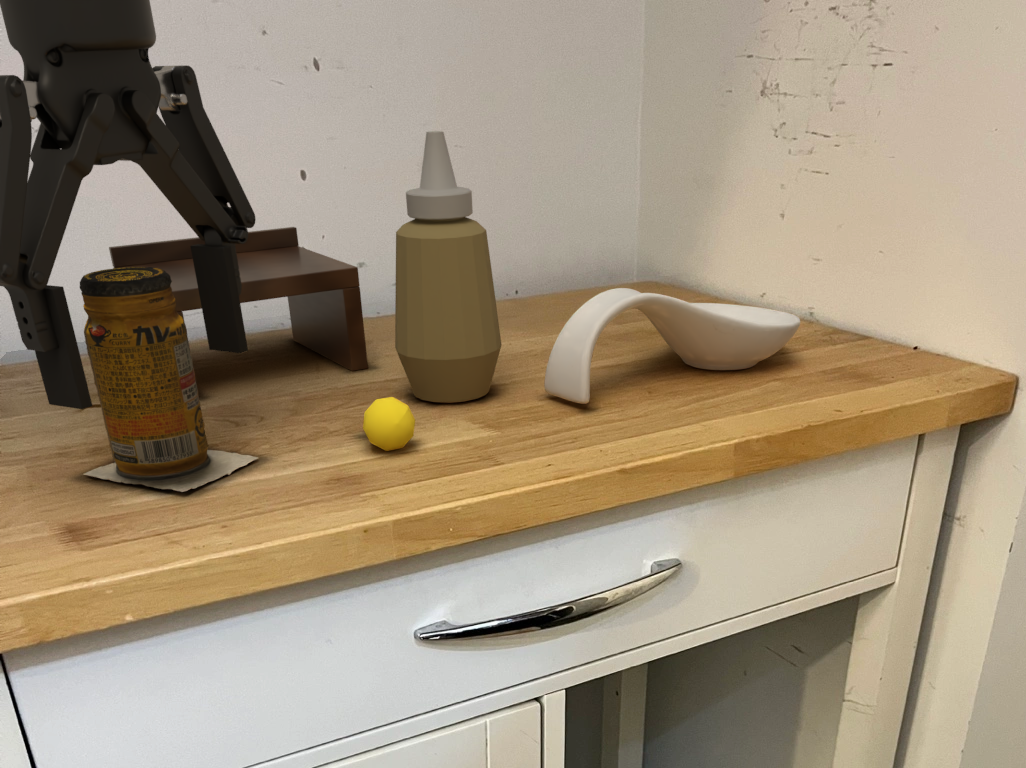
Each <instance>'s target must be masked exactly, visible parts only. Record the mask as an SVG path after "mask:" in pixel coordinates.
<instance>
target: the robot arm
mask: <svg viewBox="0 0 1026 768" xmlns="http://www.w3.org/2000/svg"><path fill="white" fill-rule="evenodd" d="M0 11H1V15H2V19H3V22H4V26H5V31H6V35H7V39H8V42H9V44H10V46H11V48H13V49H14V50H15V51H17V53H18V54H19V55H20V57H21V60H22V64H23V80H22V79H21V77H19V76H17V75H15V74H0V287H2V288H4V289H5V290H6V292H7V293H8V296H9V298H10V301H11V306H12V309H13V313H14V316H15V320H16V322H17V327H18V330H19V335H20V338H21V342H22V343H23V345H24V346H25V348H26V350H28V351H34V353H35V357H36V360H37V364H38V368H39V372H40V376H41V379H42V383H43V387H44V390H45V395H46V399H47V402H48V405H52V406H57V407H63V408H70V409H77V410H86V409H88V408H90V407H93V406H94V405H93V402H92V398H91V394H90V389H89V386H88V385H89V384H88V382H87V381H88V380H87V377H86V374H85V373H86V372H85V370H84V366H83V361H82V358H81V354H80V353H81V352H80V349H79V345H78V342H77V337H76V333H75V329H74V325H73V320H72V316H71V313H70V309H69V304H68V301H67V297H66V292H65V289H64V286H60V285H50V284H48V283H49V281H50V278H51V274H52V272H53V268H54V266H55V262H56V260H57V256H58V254H59V251H60V247H61V244H62V241H63V238H64V236H65V232H66V229H67V226H68V223H69V220H70V218H71V215H72V211H73V209H74V205H75V202H76V199H77V196H78V193H79V190H80V187H81V184H82V181H83V179H84V178H86V177H87V176H88V175H90V174H91V172H92V170H93V168H94V166H106V165H113V164H114V163H116V162H118V161H123V162H124V161H125V162H132V163H135V164H137V165H138V166H139V167H140V168H141V169H142V170H143V171H144V173H145V174H146V175H147V176H148V178H149V179H150V180H151V181H152V183H153V184H154V185H155V187H157V189H158V190H159V191H160V192H161V193H162V194H163V196H164V197H165V198H166V199H167V201H168V202H169V203H170V204H171V205H172V207H173V208H174V209H175V210H176V211H177V213H178V214H179V215H180V216H181V218H182V219H183V220H184V222H186V224H187V225H188V226H189V228H190V229H191V230H192V231H193V232H194V233H195V234H196V236H197V237H199V238H200V239H201V240H202V241H205V244H197V245H192V246H190V247H191V252H192V258H193V263H194V268H195V274H196V279H197V285H198V290H199V296H200V301H201V306H202V309H201V312H202V318H203V323H204V327H205V332H206V339H207V344H208V349H209V351H216V352H223V353H224V352H225V353H235V354H243V353H246V352H248V351H249V347H248V342H247V336H246V330H245V324H244V318H243V312H242V305H241V303H240V299H239V295H240V294H241V289H242V284H241V278H240V272H239V266H238V260H237V254H236V248H235V244H244V243H246V242H247V240H248V232H249V231H248V229H253V228H254V226H255V224H256V214H255V212H254V209H253V207H252V205H251V203H250V201H249V199H248V197H247V195H246V193H245V191H244V188H243V187H242V184H241V182H240V180H239V178H238V177H237V174H236V172H235V170H234V168H233V166H232V164H231V162H230V159H229V158H228V155H227V153H226V151H225V149H224V147H223V145H222V143H221V141H220V139H219V136H218V135H217V133H216V131H215V129H214V126H213V124H212V122H211V120H210V117H208V114H207V111H206V110H205V108H204V105H203V100H202V95H201V92H200V88H199V87H200V86H199V82H198V79H197V75H196V73H195V70H194V68H193V67H191V66H190V65H155V66H152V64H151V61H150V59H149V49H151V48H153V46H154V45H155V44H156V41H157V33H156V29H155V22H154V16H153V11H152V6H151V1H150V0H0ZM158 110H159V112H160V115H161V117H160V115H158ZM36 119H37V120H38V121H39V122H40V125H39V127H38V130H37V133H36V137H35V138H34V143H33V144H32V141H33V130H32V129H33V127H32V121H33V120H36ZM30 162H32V167H31V171H30ZM29 171H30V173H29Z"/></svg>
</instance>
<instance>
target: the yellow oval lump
mask: <svg viewBox="0 0 1026 768" xmlns="http://www.w3.org/2000/svg"><path fill="white" fill-rule="evenodd" d="M415 427H416V418H415V416H414V414H413V412H412V410H411V408H410V406H409V405H408V404H406V403H405V402H403V401H401V400H399V399H398V398H396V397H393V396H389V397H383V398H376V399H375V400H373V402H372V403H371V404H370V405H369V407H368V408H367V409H366V410H365V411H364V412H363V422H362V430H363V432H364V434H365V436H366V437H367V439H368V441H369V443H370V444H372V445H374V446H376V447H378V448H380V449H382V450H384V452H388V451H389V452H390V451H394V450H400V449H403V448H405V446H406V445H407V444H408V443H409V442H410V440H411V439H412V438H413V437H414V434H415Z"/></svg>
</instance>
